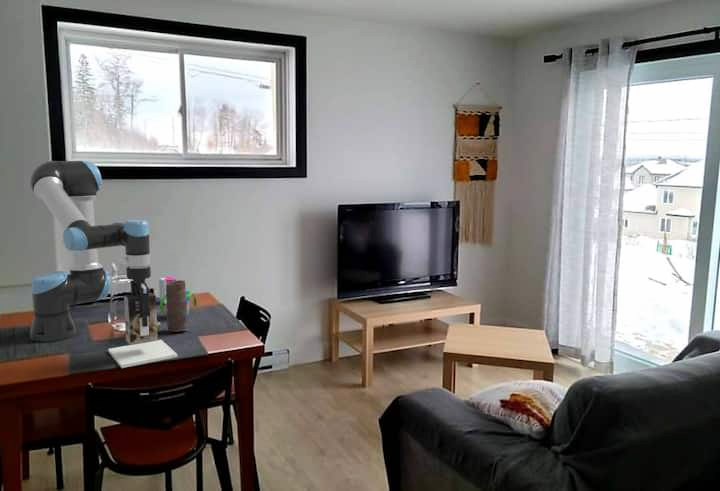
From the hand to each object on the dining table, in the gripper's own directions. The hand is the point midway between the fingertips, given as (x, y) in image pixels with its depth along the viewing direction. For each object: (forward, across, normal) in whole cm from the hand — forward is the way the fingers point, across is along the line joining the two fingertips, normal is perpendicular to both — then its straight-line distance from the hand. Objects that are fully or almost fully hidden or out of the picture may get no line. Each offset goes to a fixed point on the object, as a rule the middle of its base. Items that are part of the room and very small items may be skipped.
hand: (141, 332), depth 191 cm
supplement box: (+8, -61, +28) cm, 68 cm away
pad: (+8, 0, 0) cm, 8 cm away
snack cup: (+8, -37, +25) cm, 45 cm away
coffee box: (+3, 0, 0) cm, 3 cm away
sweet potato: (+8, -18, +18) cm, 27 cm away
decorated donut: (+8, -24, +8) cm, 27 cm away
